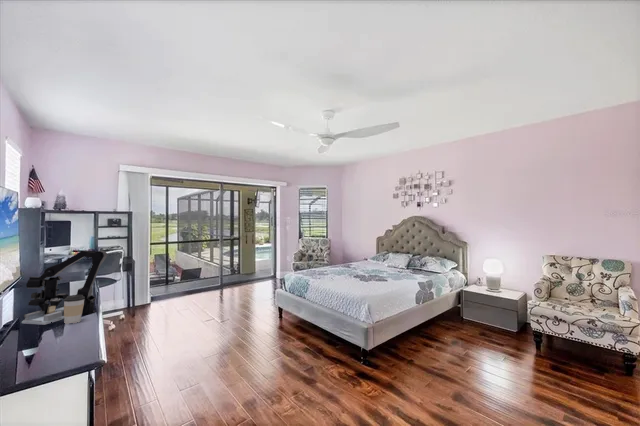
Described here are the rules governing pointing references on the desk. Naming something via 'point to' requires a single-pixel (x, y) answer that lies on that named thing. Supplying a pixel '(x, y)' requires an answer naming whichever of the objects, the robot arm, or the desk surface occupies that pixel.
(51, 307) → the maple block
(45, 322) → the vise bed
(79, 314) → the coffee cup
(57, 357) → the desk surface
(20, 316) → the desk surface
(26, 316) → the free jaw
